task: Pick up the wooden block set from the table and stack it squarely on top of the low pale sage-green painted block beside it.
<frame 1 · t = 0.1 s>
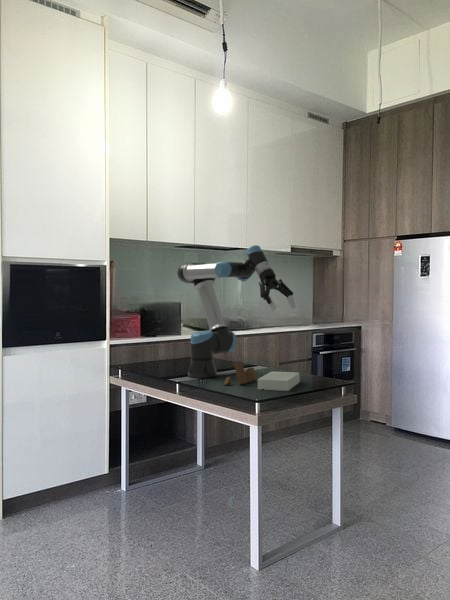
hand: (284, 308, 234), 36 cm above the table, tool tilted 35°, fingers open, 13 cm apart
sage base block: (279, 386, 232), on the table
wooden block set: (242, 384, 239), on the table
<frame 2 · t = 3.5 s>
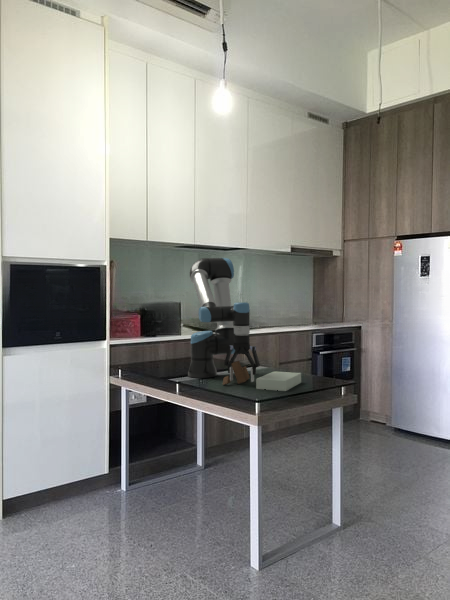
hand: (241, 380, 238), 1 cm above the table, tool pointing down, fingers open, 10 cm apart
wooden block set: (239, 383, 240), on the table, touching gripper
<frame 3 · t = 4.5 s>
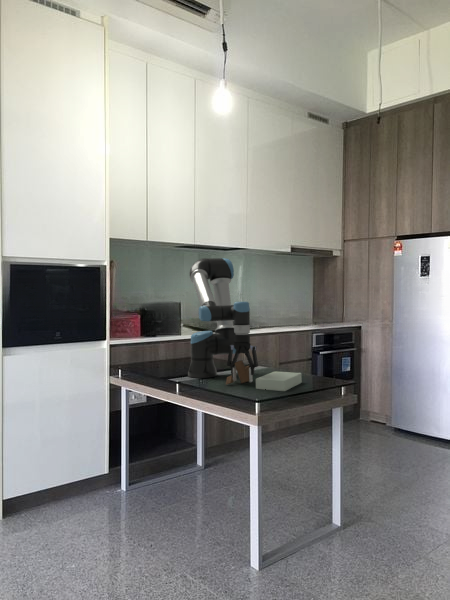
hand: (242, 381, 239), 1 cm above the table, tool pointing down, fingers closed on wooden block set, 8 cm apart
wooden block set: (242, 382, 240), on the table, touching gripper
everything else where it was.
when the fingers open (7 cm above the table, at t = 10.5 s): wooden block set drops 2 cm, resting on sage base block.
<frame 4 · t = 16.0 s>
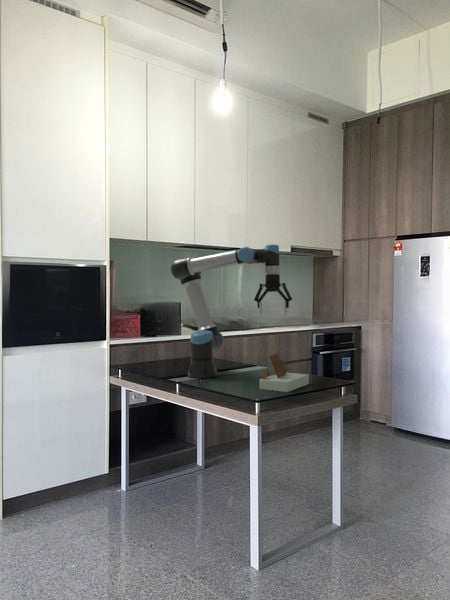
hand: (273, 314, 263), 32 cm above the table, tool pointing down, fingers open, 13 cm apart
sage base block: (284, 387, 230), on the table, touching wooden block set
wooden block set: (277, 376, 232), point 4 cm above the table, touching sage base block
at the end: wooden block set inside the target area on the sage base block (3.6 cm from its centre), point 4.8 cm above the sage base block's base; wooden block set tilted 0°; the gripper is holding nothing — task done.
